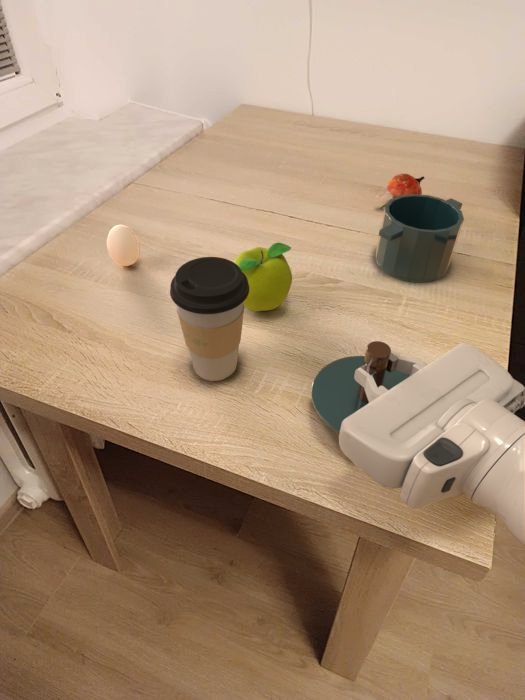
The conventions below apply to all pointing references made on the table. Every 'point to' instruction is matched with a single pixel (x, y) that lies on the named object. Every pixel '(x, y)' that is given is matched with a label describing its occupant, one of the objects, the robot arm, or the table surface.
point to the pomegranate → (404, 185)
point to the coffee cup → (211, 313)
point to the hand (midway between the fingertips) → (371, 363)
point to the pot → (418, 237)
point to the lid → (350, 384)
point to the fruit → (265, 276)
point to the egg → (123, 245)
